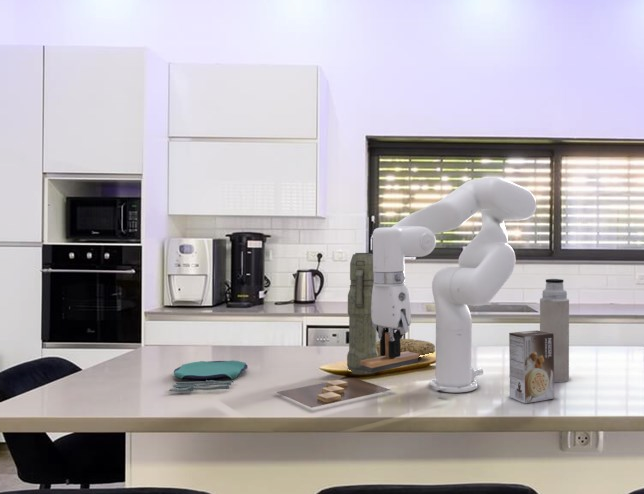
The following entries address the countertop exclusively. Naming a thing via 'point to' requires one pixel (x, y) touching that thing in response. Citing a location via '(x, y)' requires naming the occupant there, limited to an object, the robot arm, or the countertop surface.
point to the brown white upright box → (531, 366)
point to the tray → (351, 391)
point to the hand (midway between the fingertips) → (390, 355)
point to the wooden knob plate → (389, 360)
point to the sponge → (412, 346)
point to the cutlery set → (207, 374)
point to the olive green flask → (361, 313)
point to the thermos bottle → (556, 325)
